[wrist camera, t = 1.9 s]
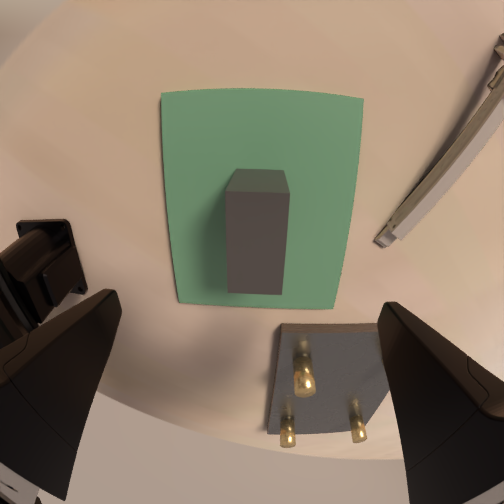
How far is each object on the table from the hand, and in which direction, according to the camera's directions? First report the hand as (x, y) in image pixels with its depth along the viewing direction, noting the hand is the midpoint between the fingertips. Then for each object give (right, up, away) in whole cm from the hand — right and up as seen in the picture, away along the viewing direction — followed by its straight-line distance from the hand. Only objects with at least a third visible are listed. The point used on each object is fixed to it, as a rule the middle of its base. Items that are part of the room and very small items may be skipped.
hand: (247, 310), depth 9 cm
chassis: (+8, -12, +16) cm, 22 cm away
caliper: (+14, +10, +5) cm, 18 cm away
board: (+1, +5, +9) cm, 10 cm away
